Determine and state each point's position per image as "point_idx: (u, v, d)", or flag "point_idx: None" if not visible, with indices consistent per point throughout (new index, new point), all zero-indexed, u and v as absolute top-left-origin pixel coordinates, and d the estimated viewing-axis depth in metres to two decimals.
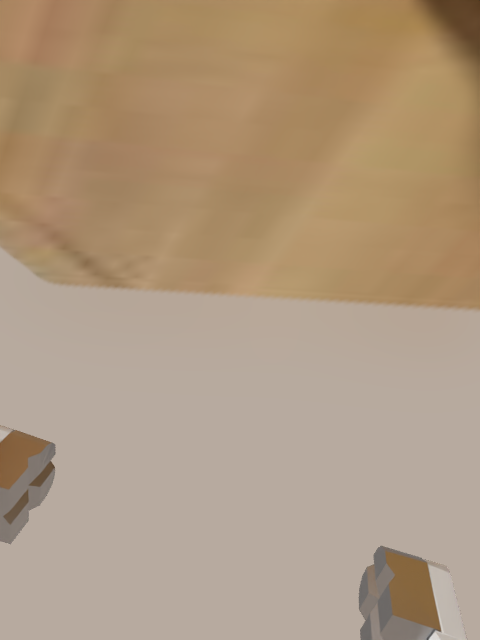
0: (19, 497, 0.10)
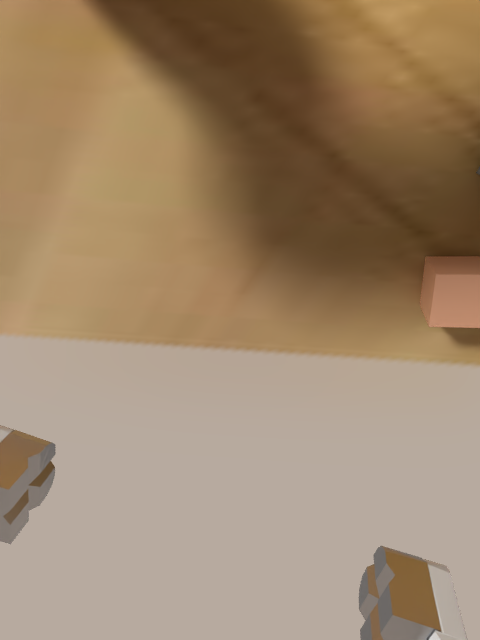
0: (19, 497, 0.10)
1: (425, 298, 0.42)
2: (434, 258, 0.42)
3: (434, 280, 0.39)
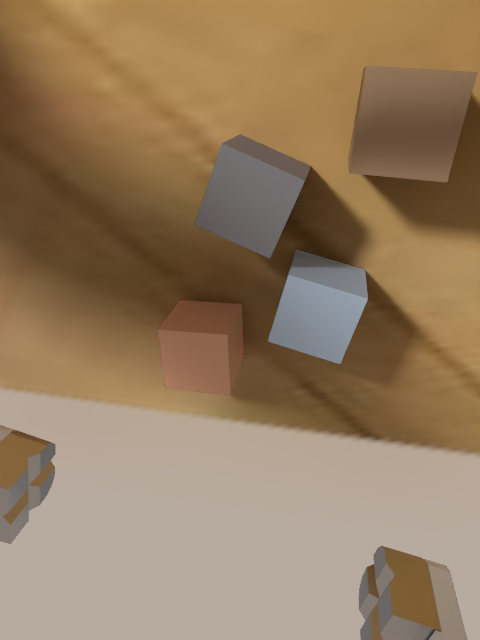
0: (19, 497, 0.10)
1: None
2: (186, 303, 0.35)
3: None
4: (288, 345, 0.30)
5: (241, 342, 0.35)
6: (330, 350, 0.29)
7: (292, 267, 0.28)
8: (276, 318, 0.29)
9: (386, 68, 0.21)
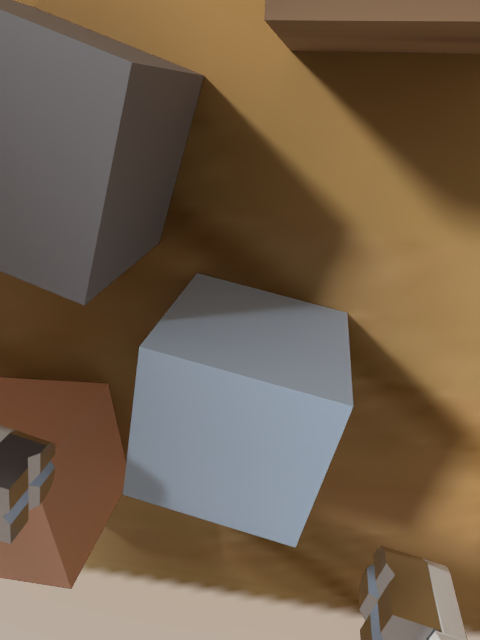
0: (19, 497, 0.10)
1: None
2: (0, 386, 0.18)
3: None
4: (170, 504, 0.12)
5: (116, 455, 0.18)
6: (269, 518, 0.12)
7: (163, 321, 0.11)
8: (131, 447, 0.12)
9: None
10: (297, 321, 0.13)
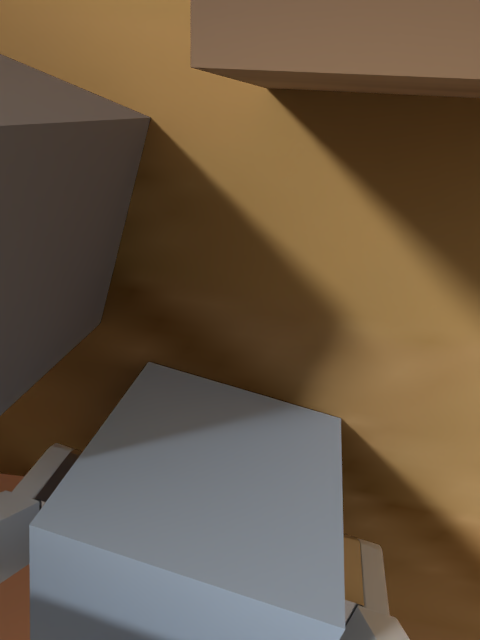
0: None
1: None
2: None
3: None
4: None
5: None
6: None
7: (79, 464, 0.08)
8: (35, 637, 0.08)
9: None
10: (273, 444, 0.10)
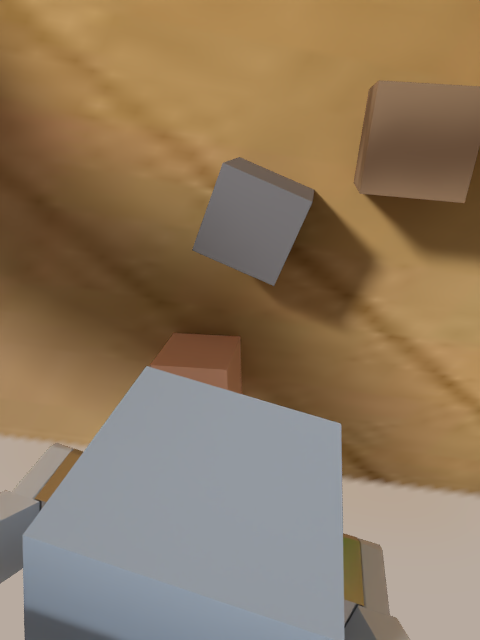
0: None
1: None
2: (180, 336, 0.32)
3: None
4: None
5: (239, 378, 0.33)
6: None
7: (75, 472, 0.08)
8: None
9: (399, 83, 0.20)
10: (272, 450, 0.10)
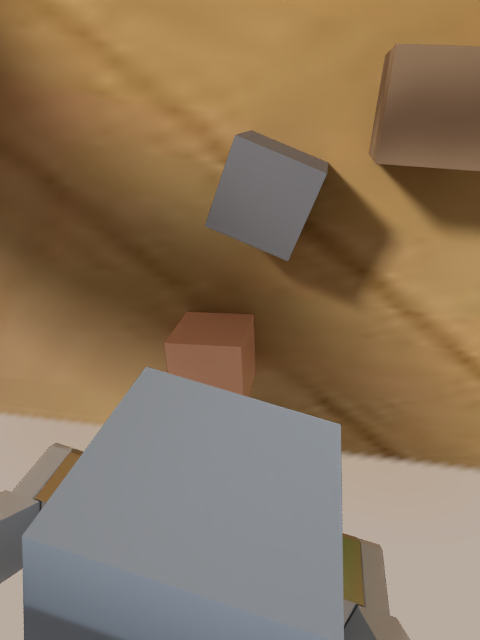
0: None
1: None
2: (193, 315, 0.32)
3: None
4: None
5: (253, 356, 0.33)
6: None
7: (74, 473, 0.08)
8: None
9: (418, 46, 0.19)
10: (271, 451, 0.10)
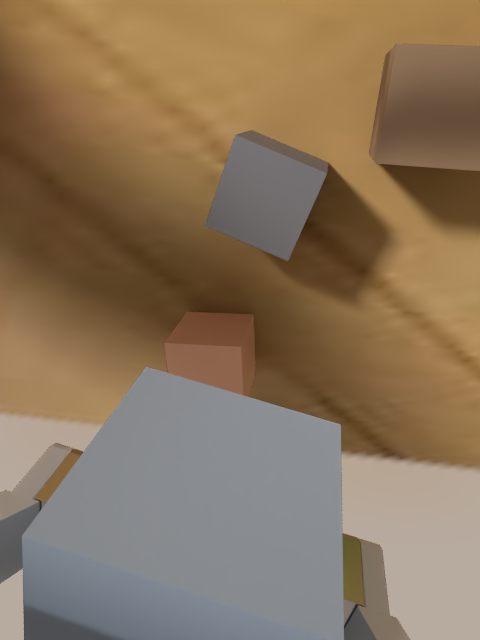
0: None
1: None
2: (193, 315, 0.32)
3: None
4: None
5: (253, 356, 0.33)
6: None
7: (74, 473, 0.08)
8: None
9: (418, 45, 0.19)
10: (271, 451, 0.10)
